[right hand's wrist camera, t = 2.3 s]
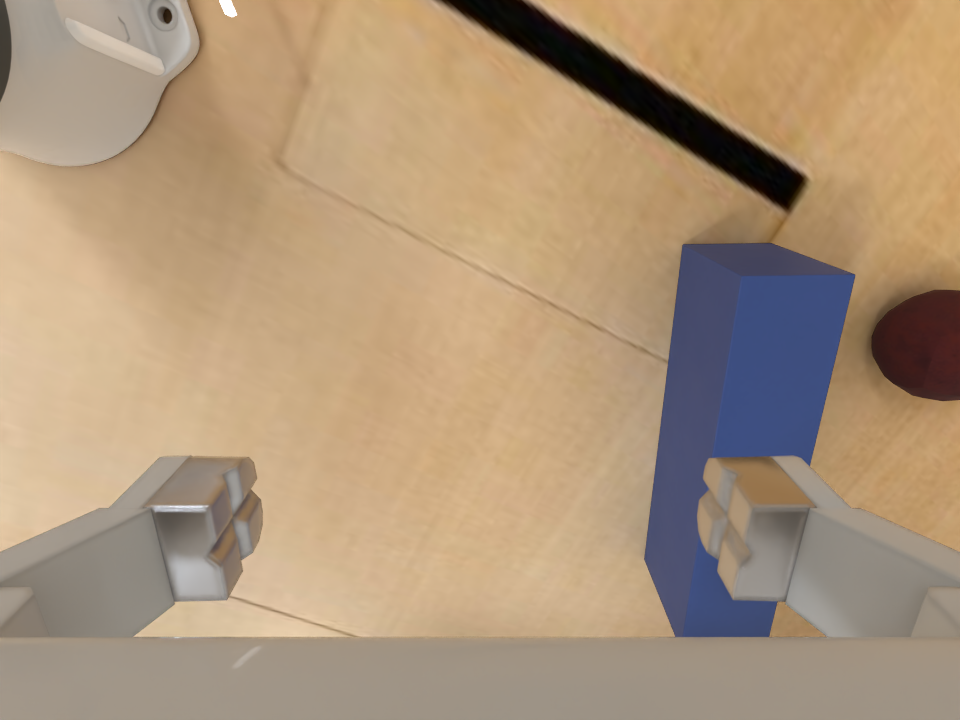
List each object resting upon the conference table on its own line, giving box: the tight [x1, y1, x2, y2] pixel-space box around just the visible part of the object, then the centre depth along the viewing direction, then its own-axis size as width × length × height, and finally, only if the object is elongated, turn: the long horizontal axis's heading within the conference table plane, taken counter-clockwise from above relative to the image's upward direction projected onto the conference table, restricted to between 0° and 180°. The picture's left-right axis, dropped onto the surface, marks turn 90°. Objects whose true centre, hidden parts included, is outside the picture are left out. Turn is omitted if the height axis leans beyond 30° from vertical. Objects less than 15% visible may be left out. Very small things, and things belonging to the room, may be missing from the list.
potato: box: [872, 290, 960, 401], centre depth 38 cm, size 7×8×7 cm
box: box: [644, 243, 855, 637], centre depth 40 cm, size 27×6×9 cm, turn 0°
